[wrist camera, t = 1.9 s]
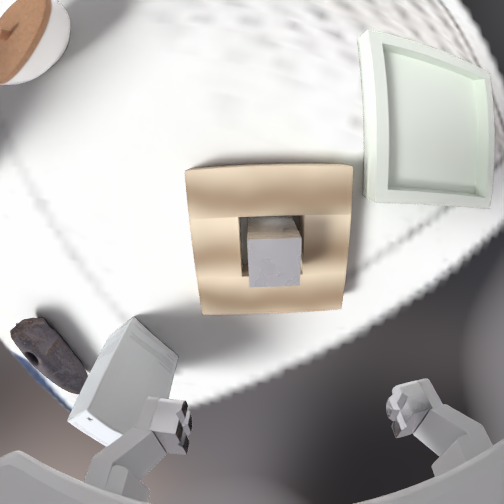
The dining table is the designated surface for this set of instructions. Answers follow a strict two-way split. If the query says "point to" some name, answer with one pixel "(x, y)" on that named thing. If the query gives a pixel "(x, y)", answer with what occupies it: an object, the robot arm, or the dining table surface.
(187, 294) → the dining table surface
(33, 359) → the perforated stone tool
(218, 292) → the socket block
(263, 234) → the pin
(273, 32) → the dining table surface
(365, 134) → the tray
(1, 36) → the lidded jar
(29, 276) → the dining table surface
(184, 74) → the dining table surface
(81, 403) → the skincare box
